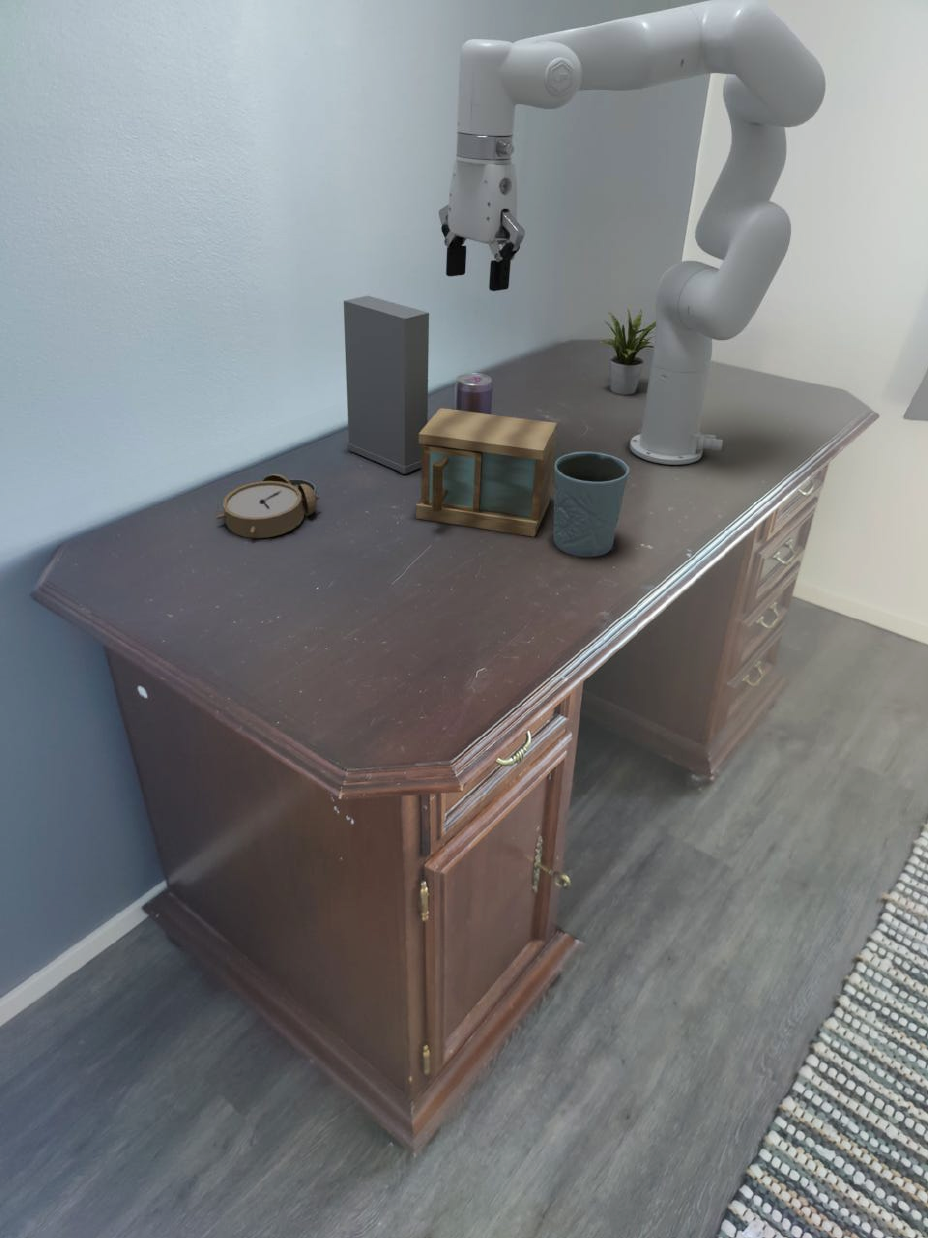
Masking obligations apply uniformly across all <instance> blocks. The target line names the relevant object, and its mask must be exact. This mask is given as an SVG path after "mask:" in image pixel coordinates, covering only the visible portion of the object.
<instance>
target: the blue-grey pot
mask: <svg viewBox="0 0 928 1238" xmlns="http://www.w3.org/2000/svg"><path fill="white" fill-rule="evenodd" d="M629 474H630V467H629V465H628V464H626V462H625V461H624V460H622V459H620V458H619V457H617V456H613V455H611V454H608V453H604V452H598V451H597V452H596V451H575V452H570V453H568V454H567V453H566V454H564V455H562V456H559V457H558V458H557V459H556V460H555V461H554V464H553V479H554V483H553V485H554V488H555V489H554V490H555V491H554V494H553V498H554V499H553V504H554V505H553V512H554V513H553V533H552V540H553V544H554V546H556V548H557V549H558V550H560V551H561V552H563V553H565V554H568V555H570V556H574V557H581V558H595V557H596V558H597V557H601V556H603V555H606V554H608V552H610V551H611V550H612V548H613V545H614V541H615V535H616V528H617V526H618V522H619V516H620V513H621V509H622V508H621V507H622V503H623V497H624V495H625V490H626V485H627V481H628V478H629Z"/></svg>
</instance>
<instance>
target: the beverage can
mask: <svg viewBox="0 0 928 1238" xmlns="http://www.w3.org/2000/svg"><path fill="white" fill-rule="evenodd" d="M493 387H494V386H493V379H492V377H490V376H489V375H486V374H482V373H474V372H472V373H471V372H469V373H462V374H460V375H458V376H457V377H456V382H455V385H454V407H453V408H454V409H453V410H460V411H467V412H475V413H483V414H491V415H492V407H493V390H494V389H493Z"/></svg>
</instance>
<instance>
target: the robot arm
mask: <svg viewBox="0 0 928 1238" xmlns="http://www.w3.org/2000/svg"><path fill="white" fill-rule="evenodd" d="M459 56H460V57H459V74H458V97H457V98H458V99H457V121H456V122H457V124H456V125H457V126H456V145H455V146H456V147H455V148H456V149H455V158H454V161H453V165H452V166H453V168H452V174H451V180H450V187H449V195H448V197H449V198H448V204H447V205H444V206H443V207H441V208H440V209H439V210H438V216H439V222H440V225H441V227H440V229H441V233H442V235H443V237H444V240H443V241H444V246H445V247H446V259H445V260H446V261H445V263H446V264H445V276H447V277H450V278H451V277H458V276H459V277H460V276H463V275H465V274H466V264H467V263H466V262H467V245H464V244H465V242H466V240H470V241H475V242H477V243H482V244H485V245H488V246H489V249H490V251H491V254H492V256H493V259H492V260H490V268H489V269H490V270H489V284H488V286H489V287H488V288H489V291H491V292H498V291H505V290H508V289H509V288H510V278H511V277H510V275H511V264H512V263H511V262H512V261H513V260H515V256H516V254H517V253H518V252H519V250H520V249H521V244H522V242H523V240H524V237H525V235H526V231H525V228H524V227H523V226H522V225H521V224H520V223H519V221H518V182H517V181H518V180H517V171H516V163H512V162H513V161H512V158H513V154H514V152H515V147H514V135H515V134H514V132H515V121H516V120H515V118H516V106H517V105H524V106H530V107H533V108H538V109H542V110H554V109H555V110H556V109H559V108H562V107H563V106H566V105H567V104H569V103H570V102H571V101H572V100H573V99H574V98H575V97H576V95H577V94H578V92H581V91H597V90H598V91H615V92H624V91H636V90H643V89H648V88H653V87H656V86H661V85H664V84H668V83H673V82H677V81H681V80H687V79H692V78H696V77H700V76H704V75H711V74H721V75H725V78H724V82H723V88H722V97H723V102H724V107H725V109H726V112H727V115H728V120H729V124H730V132H731V134H730V135H731V138H730V139H731V140H730V141H731V142H730V146H729V152H728V154H727V157H726V160H725V163H724V165H723V167H722V169H721V172H720V174H719V176H718V178H717V180H716V182H715V184H714V187H713V189H712V190H711V192H710V195H709V197H708V199H707V201H706V203H705V205H704V207H703V209H702V211H701V213H700V216H699V218H698V220H697V223H696V226H695V232H694V239H695V242H696V245H697V246H698V248H699V249H700V250H702V252H704V253H705V254H707V255H709V256H711V257H713V258H716V259H719V260H721V261H722V263H721V265H720V267H719V268H718V267H715V266H712V265H710V264H707V263H704V262H702V261H697V260H682V261H679V262H677V263H675V264H672V265H671V266H670V267H669V268H668V269H666V270H665V272H664V273H663V274H662V276H661V277H660V279H659V281H658V285H657V288H656V293H655V321H656V327H655V332H656V333H654V334H655V337H654V344H653V346H654V348H653V352H652V359H651V364H650V369H649V377H648V384H647V388H646V389H647V390H646V398H645V403H644V410H643V416H642V423H641V429H640V433H639V434H636V435H635V436H633V437H631V439H630V443H629V449H630V451H631V452H632V454H634V455H635V456H636V457H638V458H639V459H642V460H644V461H648V462H651V463H655V464H660V465H669V466H680V465H688V464H693V463H695V462H698V461H699V460H700V459H702V456H703V452H704V449H706V450H711V451H716V452H721V451H722V449H723V443H724V439H717V435H715V434H703V432H702V431H700V430H701V425H700V419H701V414H702V409H703V403H704V397H705V392H706V387H707V382H708V377H709V373H710V372H709V371H710V367H711V361H712V356H713V340H715V341H728V340H731V339H733V338H735V337H737V336H738V335H739V334H741V333H742V332H743V331H744V330H745V328H746V327H747V326H748V325H749V324H750V323H751V321H752V319H753V317H754V316H755V315H756V313H757V311H758V309H759V307H760V305H761V303H762V301H763V300H764V297H765V296H766V293H767V292H768V290H769V288H770V286H771V284H772V283H773V280H774V279H775V277H776V274H777V273H778V271H779V269H780V267H781V265H782V264H783V261H784V259H785V257H786V255H787V252H788V249H789V247H790V244H791V243H790V242H791V236H792V224H791V220H790V216H789V214H788V212H787V211H786V210H785V208H784V207H782V206H781V205H779V204H778V203H776V202H773V201H771V199H772V196H773V194H774V192H775V189H776V187H777V185H778V184H779V183H778V182H779V180H780V178H781V176H782V173H783V170H784V167H785V164H786V158H787V134H786V128H795V127H799V126H801V125H804V124H805V123H807V122H808V121H810V120H811V119H812V118H813V117H814V116H815V115H816V113H817V112H818V111H819V110H820V107H821V106H822V103H823V102H824V98H825V93H826V76H825V72H824V69H823V67H822V66H821V64H820V62H819V61H818V59H817V58H816V57H815V56H814V54H813V53H812V52H811V51H810V50H809V49H808V47H807V46H806V45H805V44H804V43H803V42H802V41H801V39H799V38H798V36H797V35H796V34H795V33H794V32H793V31H792V30H791V28H790V27H789V26H788V25H787V24H786V23H785V22H784V21H783V20H782V19H781V17H779V15H777V14H776V13H775V11H773V10H772V8H770V7H769V6H768V5H766V4H765V3H763V2H761V1H759V0H705V1H701V2H696V3H692V4H686V5H681V6H678V7H673V8H668V9H663V10H662V9H661V10H658V11H653V12H649V13H644V14H638V15H633V16H628V17H623V18H618V19H613V20H609V21H605V22H602V23H598V24H597V23H596V24H592V25H587V26H582V27H576V28H570V29H566V30H560V31H555V32H550V33H545V34H541V35H536V36H531V37H527V38H522V39H519V40H516V41H514V42H511V41H508V40H503V39H502V40H501V39H487V38H472V39H468V40H466V41H465V42H464V43H463V44H462V47H461V49H460V53H459ZM500 245H501V247H502V248H501V247H500Z"/></svg>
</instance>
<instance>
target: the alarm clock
mask: <svg viewBox="0 0 928 1238" xmlns="http://www.w3.org/2000/svg"><path fill="white" fill-rule="evenodd" d="M317 492H318V491H317V486H316V484H315V483H314V482H312V481H310V480H307V479H302V478H290V479H289V478H287V477H286V476H285V475H283V474H280V473H271V474H268V475H267V476H265V477H264V478H263V480H262V481H256V482H249V483H247V484H243V485H241V486H239V487H237V488H235V489H233V490H232V491H230V492H228V494H226V496H225V497H224V498H223V502H222V509H223V512H224V513H220V514H218V515H216V518H217V520H220V519H225V524H226V527H227V528H228V530H229V531H231V532H232V533H233V534H235V535H237V536H241V537H243V538H244V537H245V538H250V539H251V538H252V539H265V538H272V537H276V536H280V535H283V534H286V533H289V532H291V531H293V530H294V529H295V528H297V527H298V526H299V525H301V523H302V521H303V520H304V518H305V516H307V517H308V516H310V515H312V514H313V513H315V511H316V509H317V505H318V504H317V503H318V500H319V499H321V498H320V496H319V495H317V494H318V493H317Z"/></svg>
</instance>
